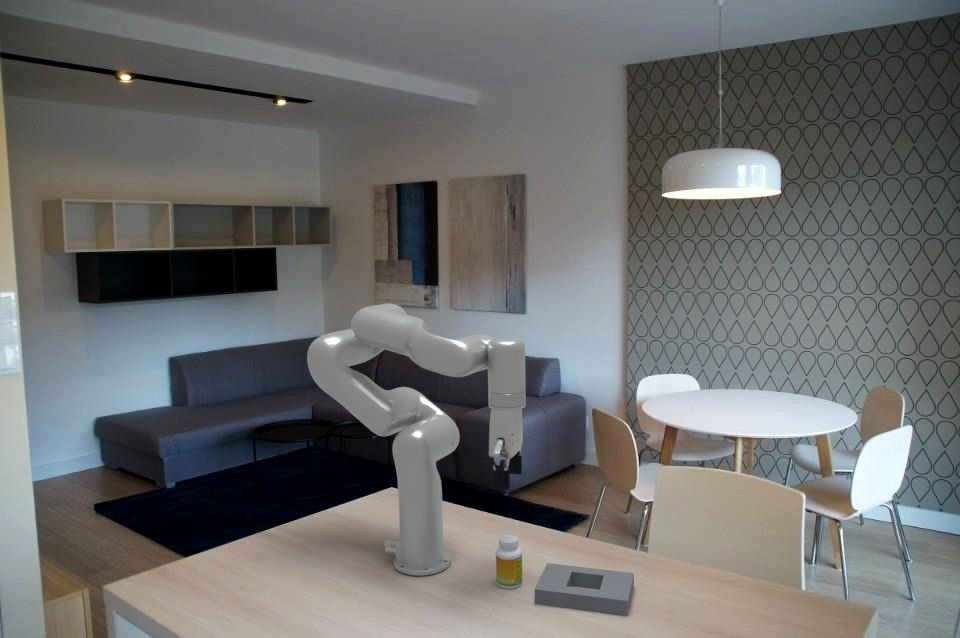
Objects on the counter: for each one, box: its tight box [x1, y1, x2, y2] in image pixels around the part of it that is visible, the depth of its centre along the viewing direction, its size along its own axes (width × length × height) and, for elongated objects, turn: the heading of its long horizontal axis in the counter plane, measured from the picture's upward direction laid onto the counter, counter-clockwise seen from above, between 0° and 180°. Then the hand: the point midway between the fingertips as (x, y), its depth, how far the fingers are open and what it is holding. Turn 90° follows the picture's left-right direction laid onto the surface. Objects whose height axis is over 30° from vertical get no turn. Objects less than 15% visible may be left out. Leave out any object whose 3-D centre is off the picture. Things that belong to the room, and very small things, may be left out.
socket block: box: [534, 562, 635, 617], centre depth 149 cm, size 18×12×3 cm, turn 73°
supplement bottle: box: [495, 534, 523, 590], centre depth 154 cm, size 5×5×10 cm
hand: (508, 481), depth 152 cm, fingers open, 9 cm apart
